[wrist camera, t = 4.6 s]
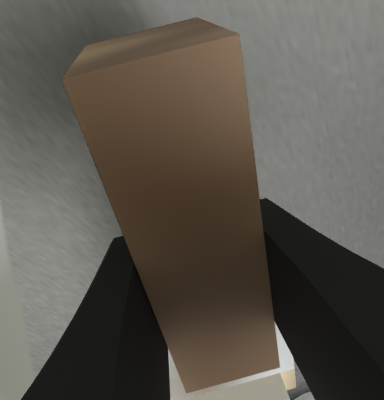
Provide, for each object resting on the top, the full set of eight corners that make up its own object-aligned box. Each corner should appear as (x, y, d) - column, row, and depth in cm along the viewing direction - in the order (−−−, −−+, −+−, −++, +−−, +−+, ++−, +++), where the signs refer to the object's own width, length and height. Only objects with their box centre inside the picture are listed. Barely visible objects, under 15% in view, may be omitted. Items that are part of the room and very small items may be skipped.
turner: (250, 4, 8) (326, 12, 5) (286, 351, 15) (326, 442, 12) (30, 58, 8) (-30, 102, 5) (170, 383, 15) (182, 484, 12)
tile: (260, 325, 23) (298, 419, 18) (262, 336, 24) (299, 430, 19) (173, 349, 23) (185, 451, 18) (177, 360, 24) (190, 461, 19)
